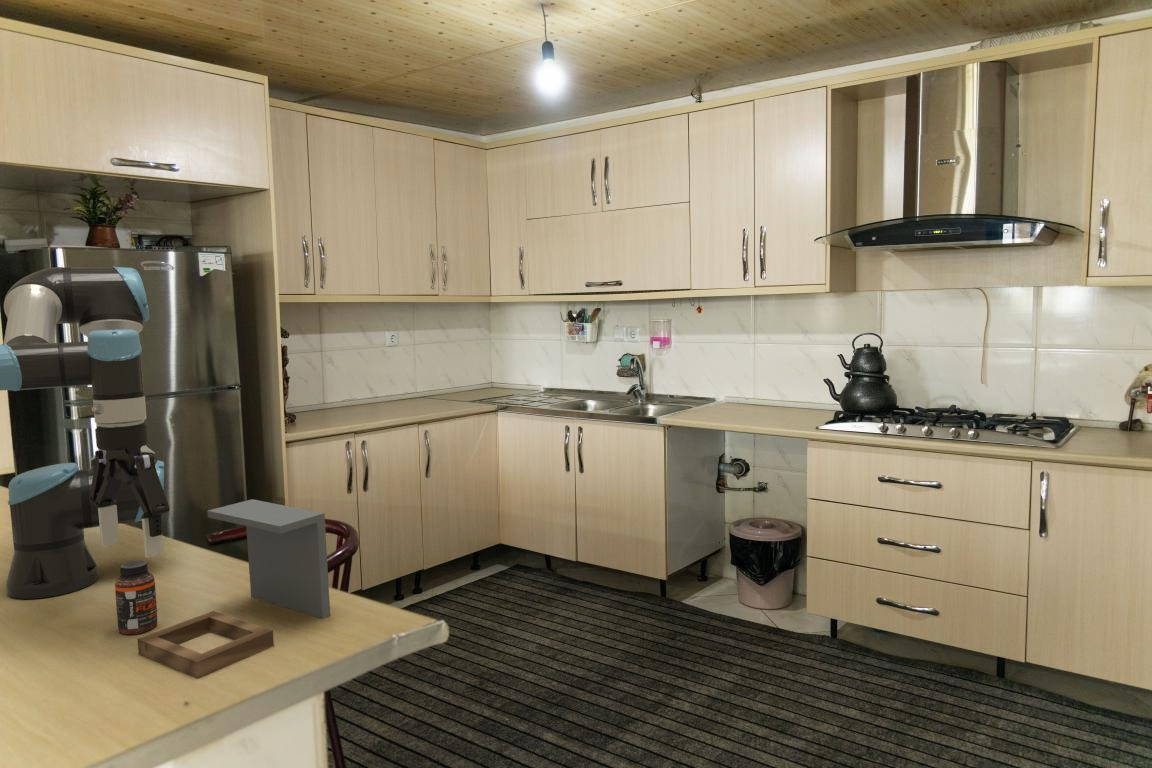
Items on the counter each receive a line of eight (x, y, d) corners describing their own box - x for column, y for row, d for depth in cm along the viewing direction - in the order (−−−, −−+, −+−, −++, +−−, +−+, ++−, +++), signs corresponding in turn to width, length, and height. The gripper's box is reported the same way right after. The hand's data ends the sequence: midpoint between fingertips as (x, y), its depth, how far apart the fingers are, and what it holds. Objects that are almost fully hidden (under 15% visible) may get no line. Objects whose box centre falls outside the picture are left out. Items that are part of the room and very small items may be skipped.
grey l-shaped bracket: (214, 610, 146) (207, 510, 144) (258, 594, 153) (252, 499, 151) (286, 633, 135) (280, 526, 133) (330, 615, 143) (324, 513, 140)
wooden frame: (138, 653, 129) (137, 638, 128) (214, 625, 139) (213, 610, 139) (198, 678, 120) (196, 661, 120) (273, 645, 131) (272, 630, 130)
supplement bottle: (141, 637, 135) (135, 570, 134) (110, 634, 136) (104, 569, 135) (166, 622, 141) (161, 558, 140) (136, 620, 142) (130, 557, 141)
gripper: (59, 422, 138) (70, 544, 140) (139, 431, 125) (151, 567, 127) (105, 416, 145) (115, 533, 147) (186, 424, 131) (196, 553, 133)
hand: (131, 549), depth 137 cm, fingers open, 13 cm apart
